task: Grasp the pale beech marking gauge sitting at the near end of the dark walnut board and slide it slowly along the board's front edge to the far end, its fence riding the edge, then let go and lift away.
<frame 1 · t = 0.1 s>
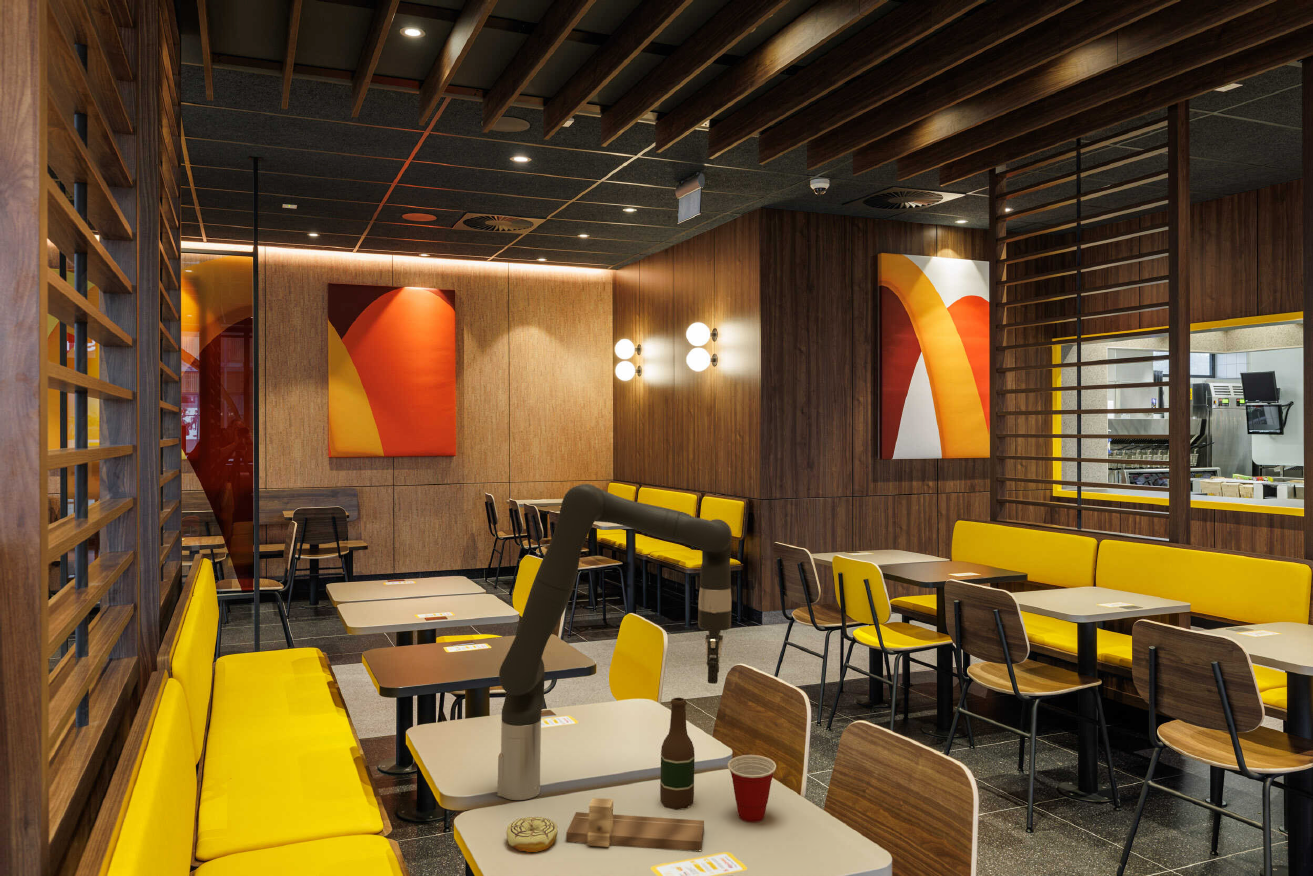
hand: (713, 678, 204), 29 cm above the table, tool pointing down, fingers open, 8 cm apart
plastic cup: (750, 818, 198), on the table
decorated donut: (531, 844, 184), on the table
board: (636, 835, 187), on the table
gauge: (600, 831, 185), point 2 cm above the table, touching board
beer bottle: (676, 804, 205), on the table
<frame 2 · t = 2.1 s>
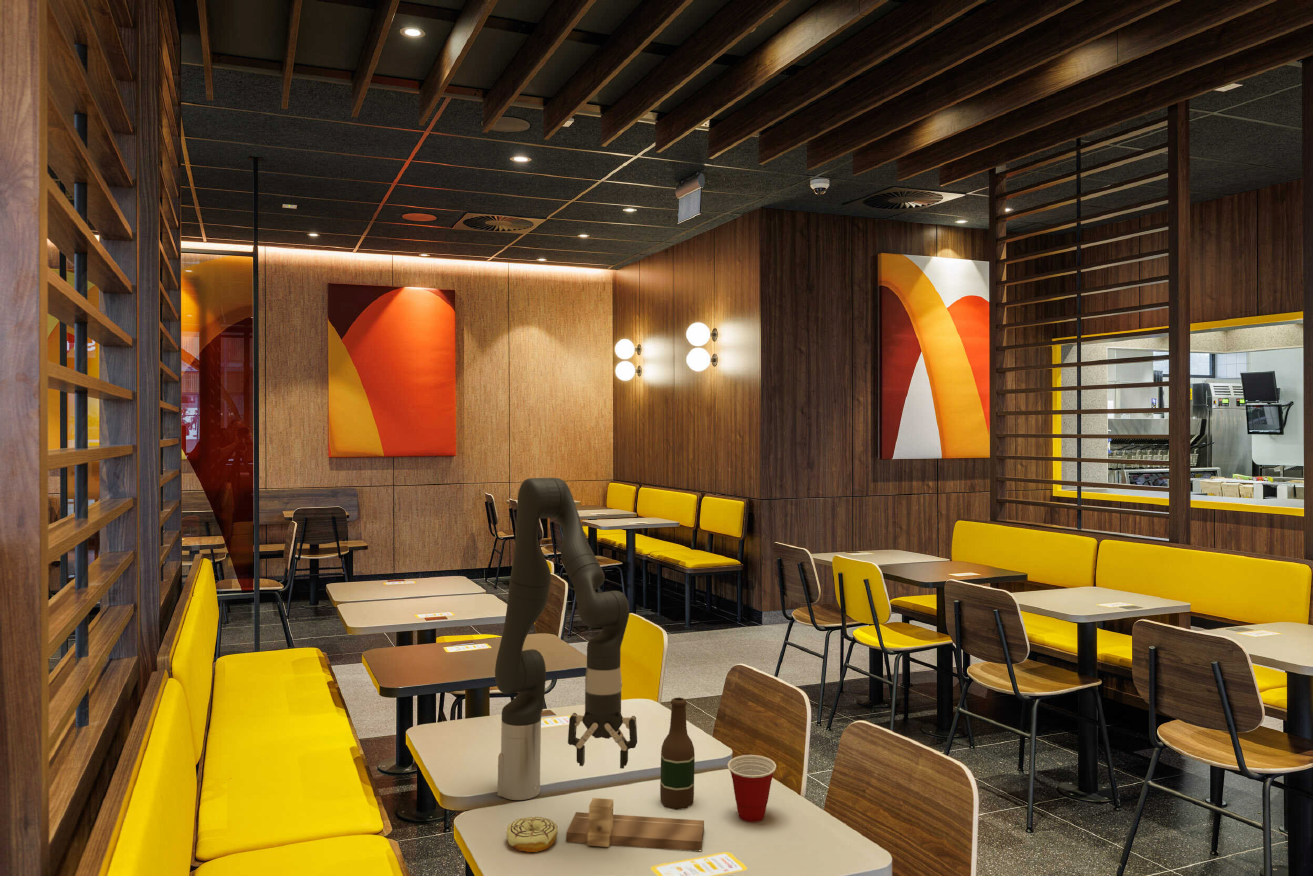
hand: (602, 766, 185), 16 cm above the table, tool pointing down, fingers open, 8 cm apart
nothing on the table moved.
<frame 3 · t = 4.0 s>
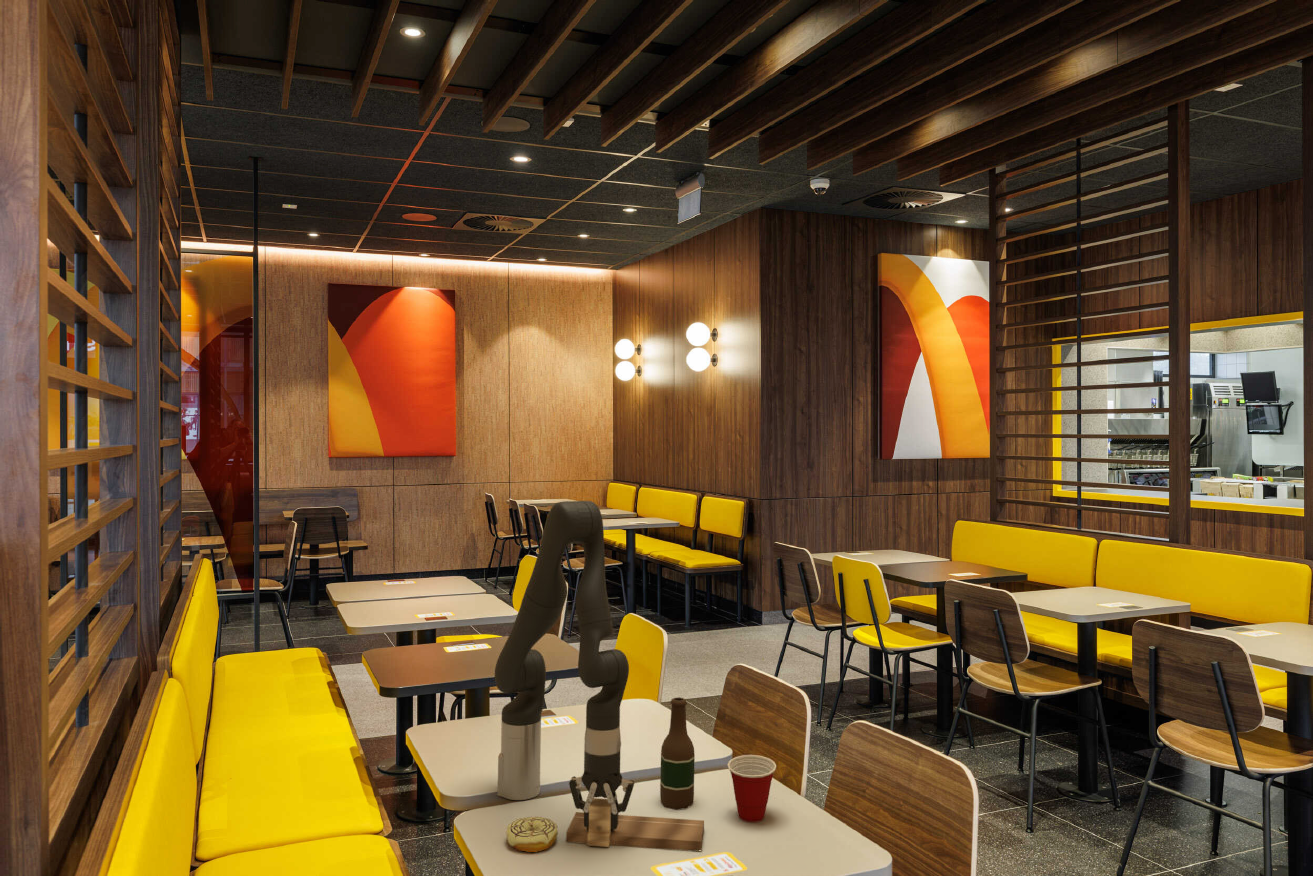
hand: (601, 829, 185), 3 cm above the table, tool pointing down, fingers closed on gauge, 4 cm apart
gauge: (600, 831, 185), point 2 cm above the table, touching board, gripper
everything else where it was.
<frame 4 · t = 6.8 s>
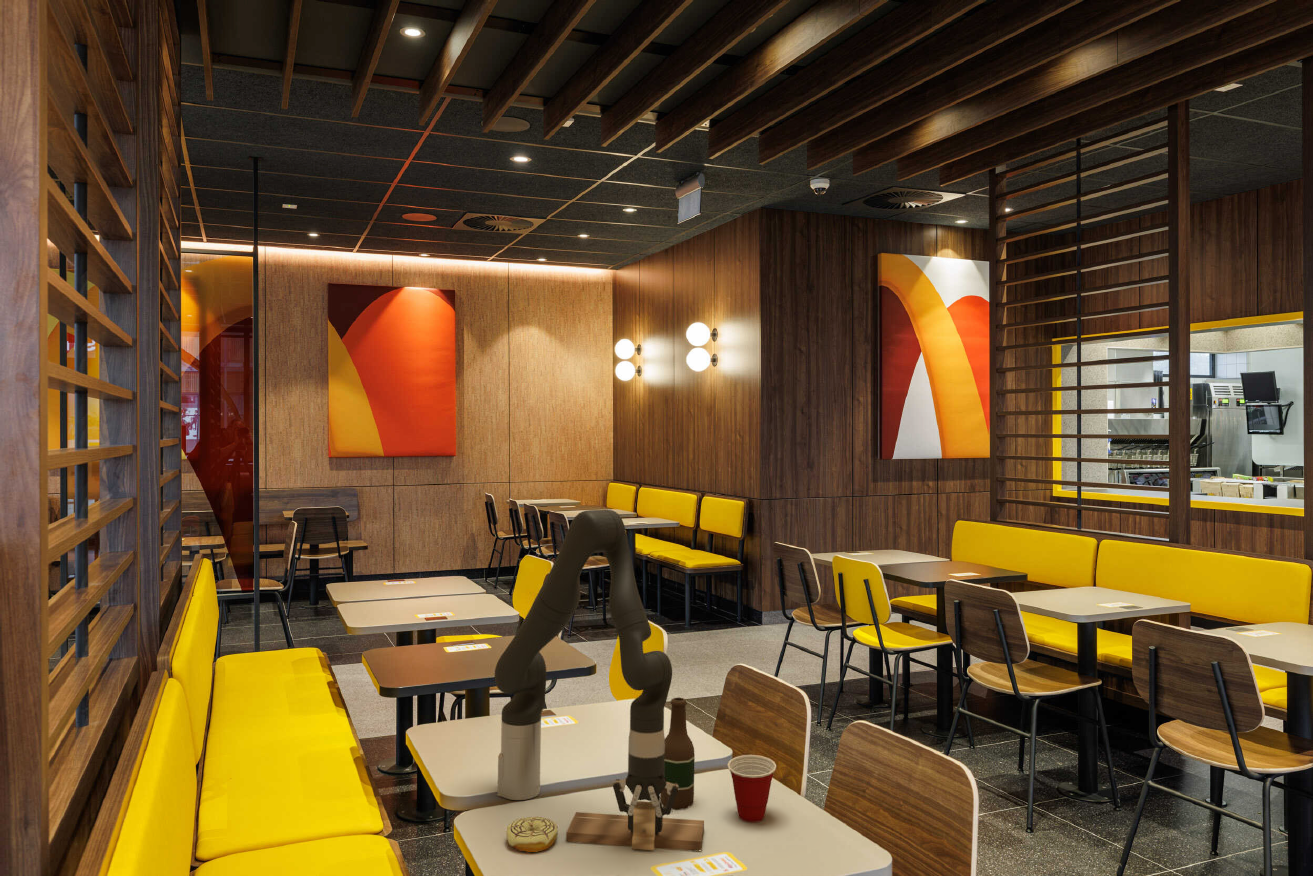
hand: (645, 832, 184), 3 cm above the table, tool pointing down, fingers closed on gauge, 4 cm apart
gauge: (645, 834, 183), point 2 cm above the table, touching gripper
everything else where it was.
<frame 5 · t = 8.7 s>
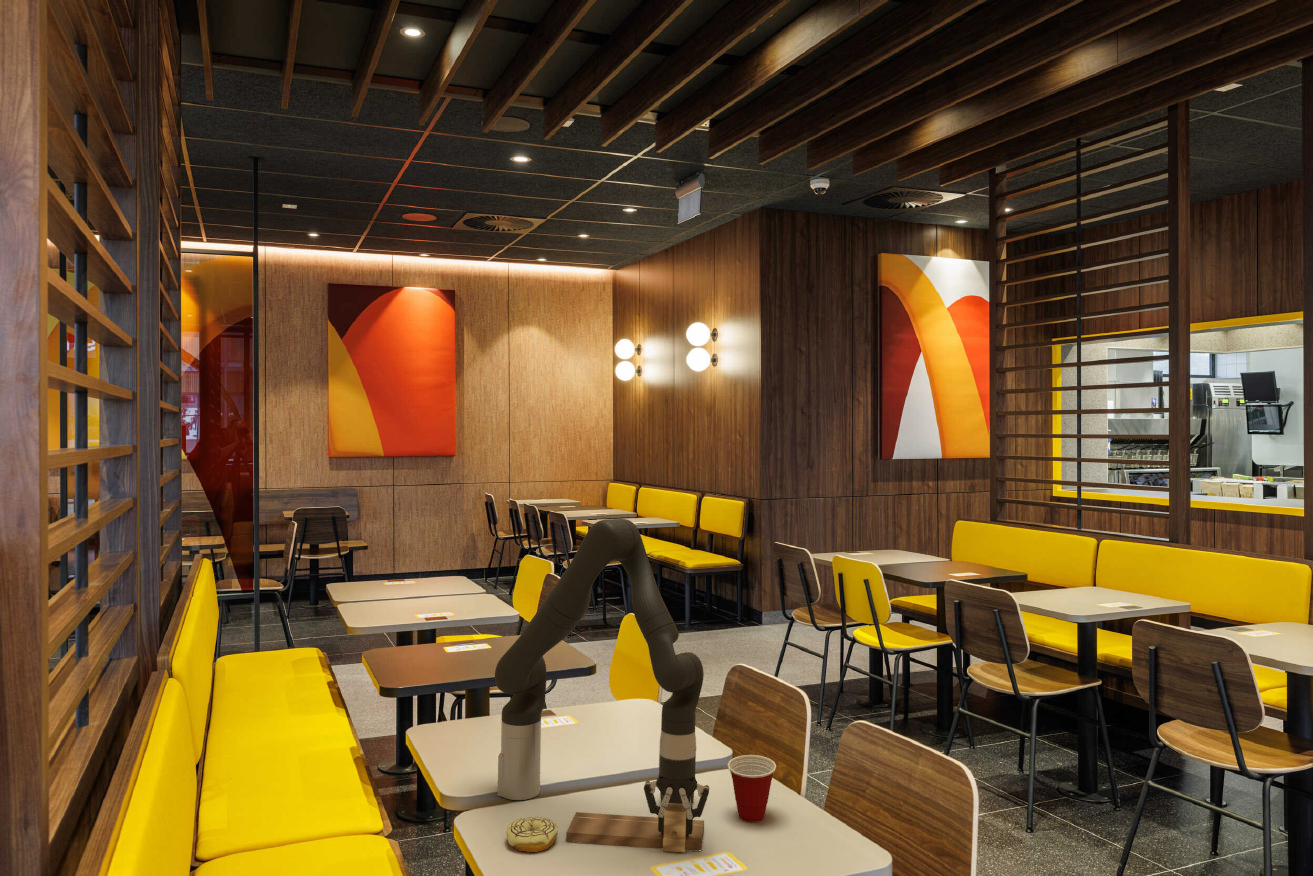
hand: (675, 834, 183), 3 cm above the table, tool pointing down, fingers closed on gauge, 4 cm apart
gauge: (675, 836, 183), point 2 cm above the table, touching board, gripper
everything else where it was.
when the fingers open (3 cm above the table, at t = 9.6 s): gauge stays where it is, resting on board.
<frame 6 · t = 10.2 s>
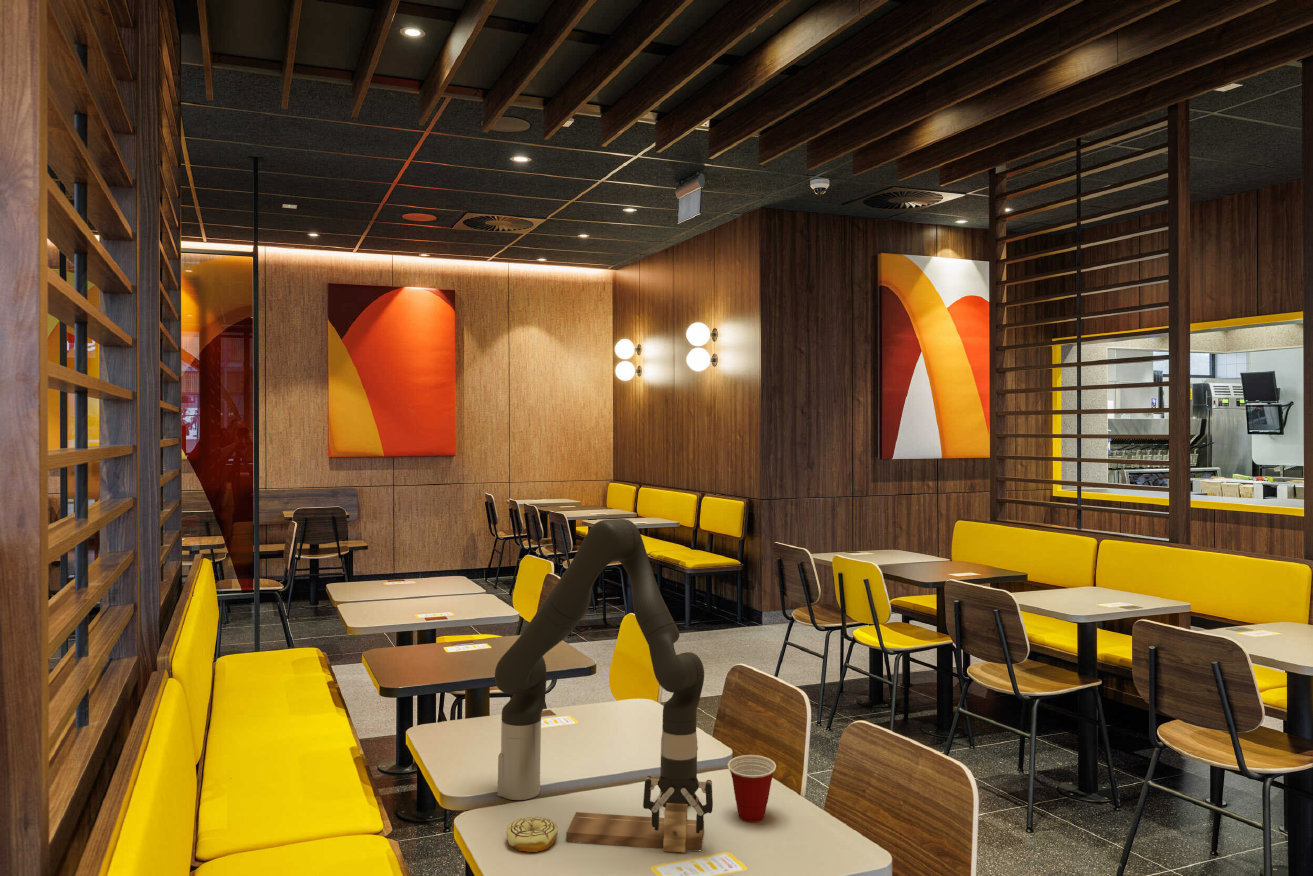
hand: (677, 830, 183), 3 cm above the table, tool pointing down, fingers open, 8 cm apart
gauge: (675, 836, 183), point 2 cm above the table, touching board
everything else where it was.
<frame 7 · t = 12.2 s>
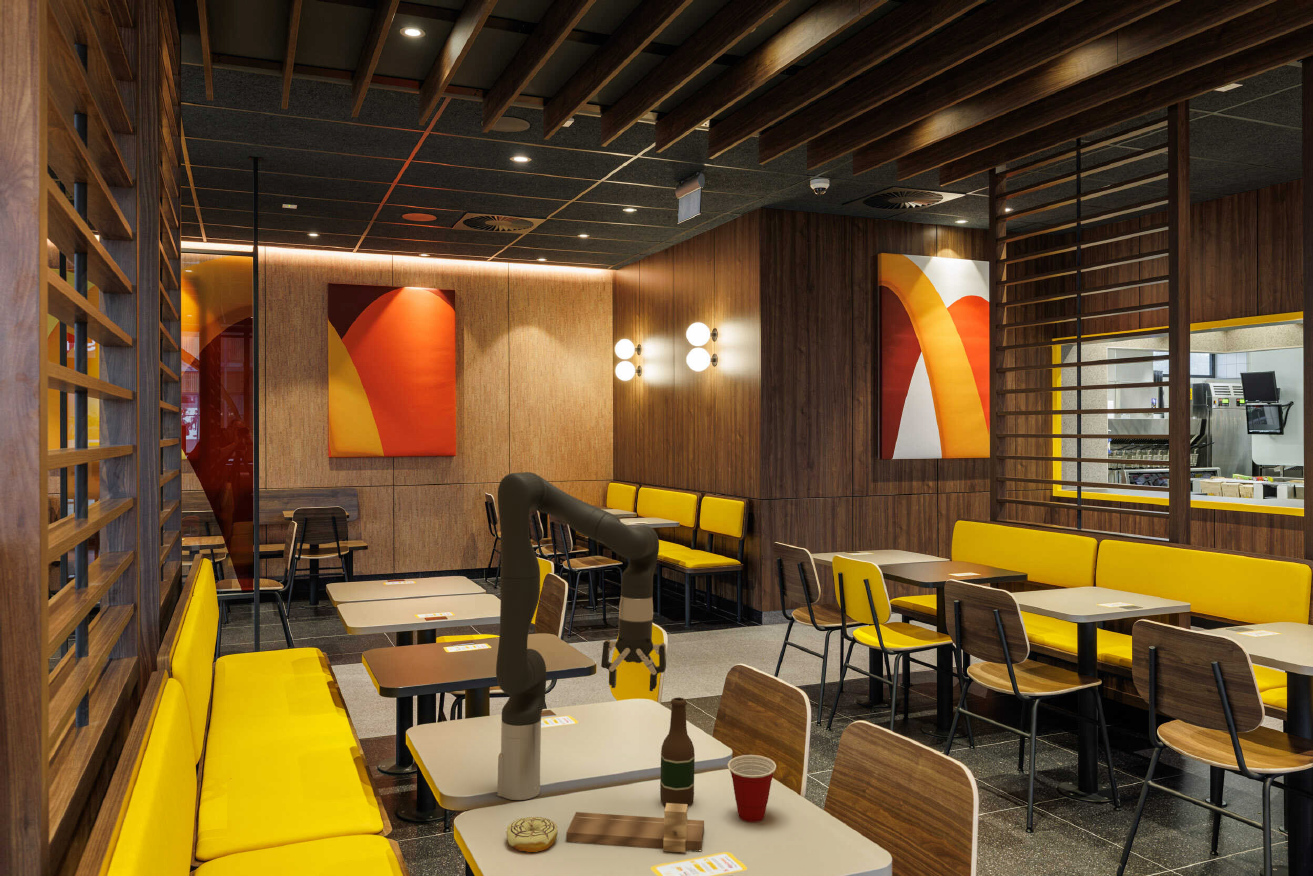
hand: (632, 688, 198), 28 cm above the table, tool pointing down, fingers open, 8 cm apart
nothing on the table moved.
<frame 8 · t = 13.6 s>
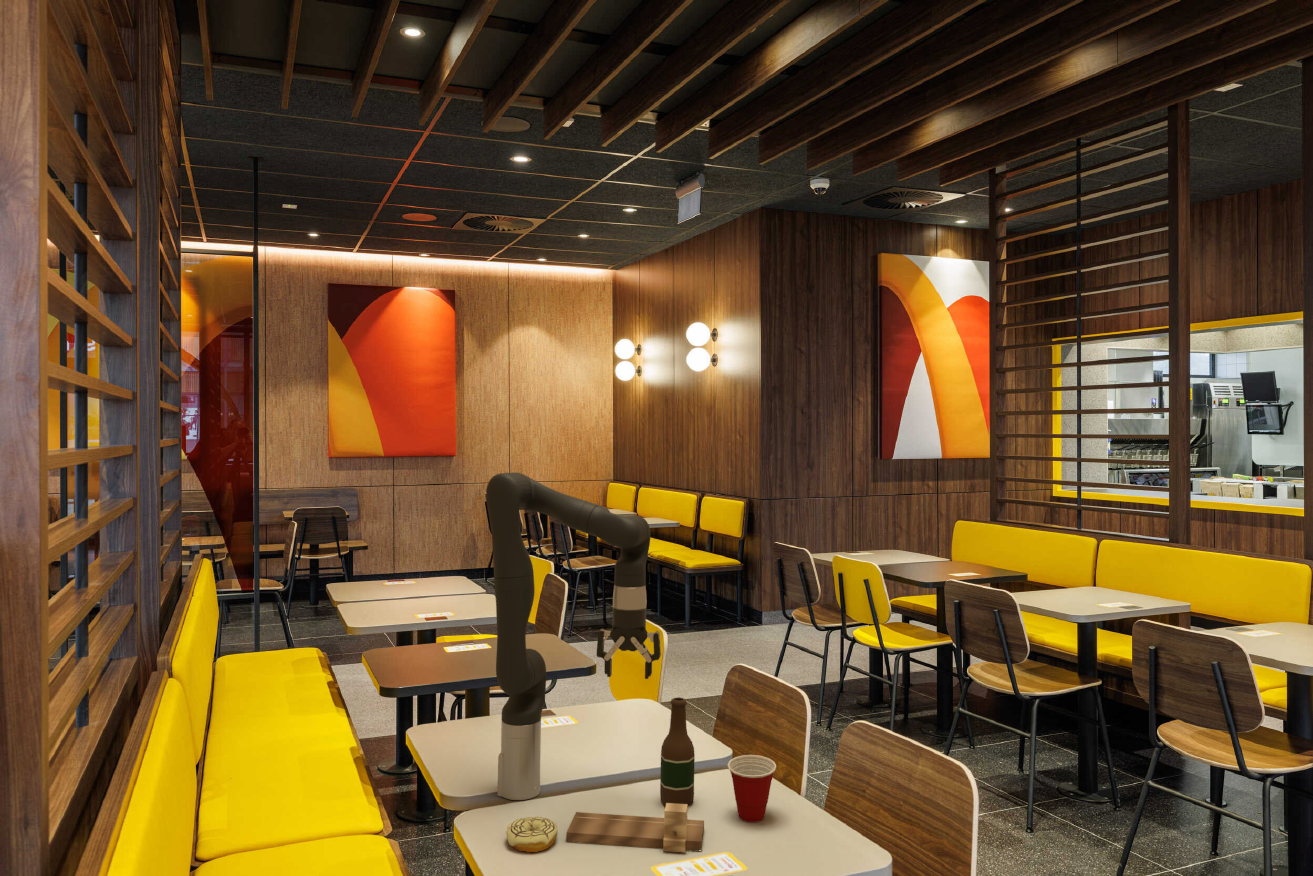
hand: (628, 677, 200), 30 cm above the table, tool pointing down, fingers open, 8 cm apart
nothing on the table moved.
at the end: gauge inside the target area (0.7 cm from its centre), point 2.0 cm above the table; gauge touching board; the gripper is holding nothing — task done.
